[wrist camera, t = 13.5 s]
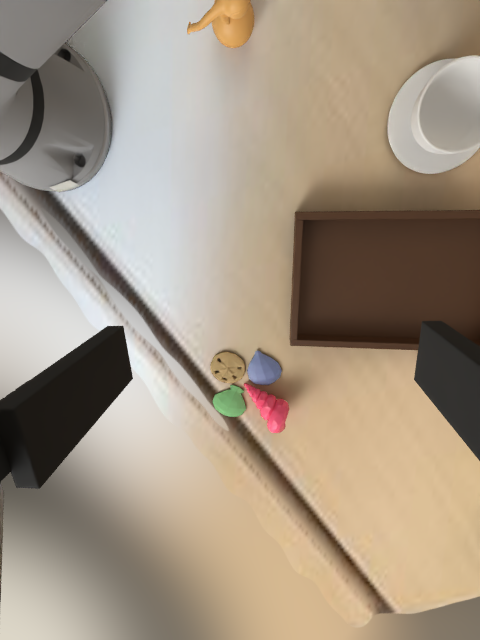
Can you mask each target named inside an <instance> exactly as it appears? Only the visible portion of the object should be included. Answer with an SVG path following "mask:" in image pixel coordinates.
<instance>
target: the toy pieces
mask: <svg viewBox="0 0 480 640" xmlns="http://www.w3.org/2000/svg"><path fill="white" fill-rule="evenodd" d="M218 358H219V359H220V360H221V362H219V361H218V360H217V359H218ZM238 367H241V369H238ZM217 370H219V372H217V373H216V372H215V371H217ZM281 371H282V370H281V368H280V366H279V364H278V362H276V361H275V360H273V359H272V358H270V357H268V356H266V355H264V354H262V353H261V352H260V351H256V352H255V355H254V357H253V359H252V360H251V362H250V364H249V367H248V370H247V372H248V376H249V379H250V380H251V381H252V382H253V383H255V384H260V385H269V384H271V383H273V382H275V381H276V380H277V379H278V378H280V375H281ZM211 372H212V374H213V375H214V377H215V378H216V379H218V380H220V381H222V382H225V383H235V382H237V381H239V380H240V379H241V378H242V377H243V376H244V372H245V365H244V362H243V360H242V359H241V358H240V357H239V356H237V355H236V354H234V353H230V352H221V353H219V354H217V355H216V356H215V357H214V358H213V361H212V362H211ZM233 375H235V376H236V377H237V378H234V377H233ZM222 377H224V378H227V379H226V380H225V379H223V378H222ZM244 386H245V388H247V390H248V393H250V396H251V397H252V400H253V402H255V403H256V406H257V408H258V409H261V410H260V413H261V416H262V417H263V418H264V419H265V420H268V424H267V426H268V429H269V430H270V431H271V432H273V433H279V432H282V431H283V430H284V429H285V421H286V418H287V415H288V411H289V405H288V403H287V402H286V401H285V400H283V399H277V400H276V397H275V396H274V395H272V394H270V395H268V394H267V392H265V391H261V390H260V389H256V388H255V387H253V386H250V385H248V384H246V383H245V384H244ZM230 387H231V389H229V390H225V391H223V392H220V393H217V394H215V396H214V399H213V404H214V406H215V409H217V410H218V411H219V412H220V413H222V414H223V415H226V416H230V417H237V416H239V415H242V414H243V412H244V411H245V409H246V406H245V403H244V400H243V397H242V395H241V393H243V392H244V390H243V389H241V388H240V387H238V386H235V385H230Z"/></svg>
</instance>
